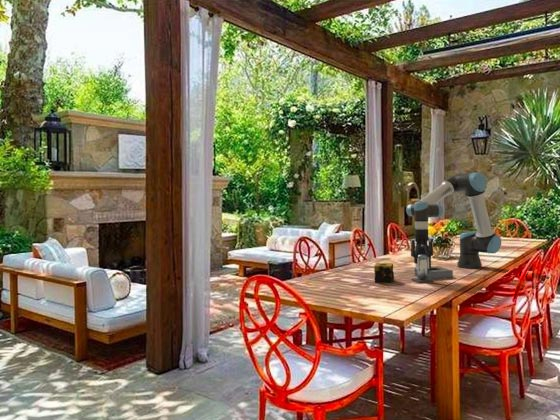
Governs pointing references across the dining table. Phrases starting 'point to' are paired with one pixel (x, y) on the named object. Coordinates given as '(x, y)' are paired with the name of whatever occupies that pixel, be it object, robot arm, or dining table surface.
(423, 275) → the silver metal cylinder
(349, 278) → the dining table surface
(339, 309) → the dining table surface
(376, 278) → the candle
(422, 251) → the canister
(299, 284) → the dining table surface
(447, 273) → the housing
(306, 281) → the dining table surface
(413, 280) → the coaster
